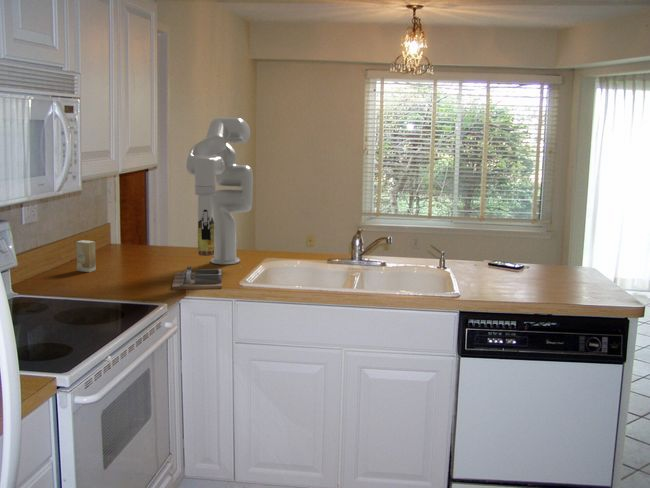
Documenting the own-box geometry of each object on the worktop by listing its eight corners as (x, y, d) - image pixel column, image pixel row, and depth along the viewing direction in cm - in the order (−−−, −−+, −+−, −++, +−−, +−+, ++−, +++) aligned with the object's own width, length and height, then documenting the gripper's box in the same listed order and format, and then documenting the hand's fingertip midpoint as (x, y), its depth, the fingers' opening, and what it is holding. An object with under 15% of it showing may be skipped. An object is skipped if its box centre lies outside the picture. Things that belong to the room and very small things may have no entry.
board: (175, 274, 272) (175, 265, 272) (221, 273, 275) (221, 264, 274) (171, 289, 249) (171, 278, 248) (221, 288, 252) (221, 277, 251)
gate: (187, 277, 264) (187, 266, 263) (191, 277, 264) (191, 266, 264) (186, 283, 254) (186, 272, 254) (190, 283, 255) (190, 271, 254)
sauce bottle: (211, 256, 255) (210, 204, 251) (195, 255, 256) (194, 203, 252) (217, 253, 261) (216, 202, 257) (201, 252, 262) (201, 201, 259)
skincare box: (76, 271, 276) (75, 241, 274) (83, 269, 281) (82, 239, 278) (90, 272, 274) (88, 242, 272) (96, 270, 278) (95, 240, 276)
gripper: (195, 188, 262) (196, 234, 265) (194, 192, 245) (195, 242, 249) (215, 188, 263) (216, 234, 266) (215, 192, 247) (216, 241, 250)
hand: (206, 237), depth 257 cm, fingers closed on sauce bottle, 6 cm apart
